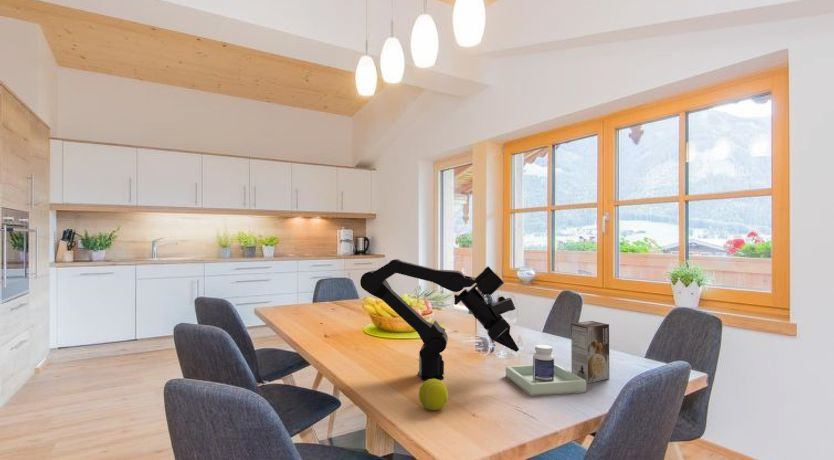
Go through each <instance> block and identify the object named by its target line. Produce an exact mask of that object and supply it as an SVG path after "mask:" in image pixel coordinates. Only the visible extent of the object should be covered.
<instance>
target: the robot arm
mask: <svg viewBox="0 0 834 460" xmlns="http://www.w3.org/2000/svg"><path fill="white" fill-rule="evenodd" d="M395 274H399V275H403V276H406V277H411V278H415V279H419V280H422V281H427V282H429V283H430V282H431V283H433V284H436V285H438V286H440V287H441V288H444V289H445V290H448V291H450V292H452V293H458V294H454V296H453V297H454V303H453V305H455V306H457V305H458V304H459V303H460V302H461V303H462V304H463V305H464V306H465V307H466V309H467V310H468V311H469V312H470V313H471V314H472V316H473V317H474V318H475V320H477V321H478V322H479V323H480V325H482V327H483V328H484V330H486V334H487V336H488V337H489V338H490V339H491V340H492V341H493V342H496V343H498V344H499V345H501V346H504V347H506V348H507V349H510V350H512V351H513V352H518V351H519V349H520V348H519V347H518V345H517V343H516V342H515V340H514V338H513V337H512V335H511V332H510V331H511V325H510V323H509V322H507V320H506V319H505V318H504V317H503V316H502V314H503V315H504V314H505V313H509V312H510V311H511V312H513V311H514V310H516V306H515V304H514V301H513V299H512V298H511V297H506V298H505V297H504V296H502V295H501V296H499V297H497V301H496V302H495V303H493V304H491V302H490V301H488V300H486V299H485V297H484V296H487V295H489V296H491V295H493V294H494V293H495V292H497V290H499V288H501V287H502V286H503V285H504V284H505V282H504V281H503V280H502V278H501V277H500V276H499V275H498V274H497V272H495V271H494V270H493V269H492V268H491V267H490V266H489V265H487V266H486V267H485V268H484V269H483V270H482V271H481V273H479V274H478V275H477V276H476V277H474V276H468V275H465V274H464V273H463V272H462V271H460V270H452V269H436V268H432V267H427V266H424V265H420V264H417V263H416V264H415V263H411V262H407V261H404V260H401V259H399V258H394V259H391V260H390V261H389V262H387V264H385V265H383V266H381V267H379V268H378V269H376V270H374V269H373V270H370V271H366V272H364V273H363V274H362V275H361V276H360V280H359V281H360V283H359V285H360V288H362V289H363V290H364V291H365V292H366V293H368V294H370V295H371V296H373V297H375V298H377V299H380V300H381V301H383V302H384V303H385V304H386V305H387V306H388V307H389V308H390V309H391V310H392V311H394V312H395V314H397V315H398V316H399V317H400V318H401V319H402V320H404V321H405V323H407V325H409V326H410V327H411V328H412V329H413V330H414V331H416V333H417V335H418V336H419V338H420V340H421V341H422V343H423V344H422V345H421V348H420V350H419V352H418V356H419V357H418V358H419V359H418V361H419V362H418V365H419V368H418V371H417V375H418V376H419V378H420V379H421V380H422V381H426V380H428V379H438V380H444V375H445V373H444V372H445V361H444V360H443V355H442V354H441V353H443V352H444V351H445V349H446V348H447V345H448V339H449V337H448V334H447V333H446V328H444V327H442V326H441V325H440V324H439V323H438V322H437V321H436V320H434V321H433V323H432V322H430V321H427V320H426V319H425V318H424V317H423V316H422V315H420V314H419V313H418V312H417V311H416V310H415V309H414V308H413V307H412V306H410V304H408V303H407V302H406V301H405V300H404V299H403V298H402V297H401V296H399V294H397V292H395V291H394V290H393V289H392V287H391V285H390V284H389V282H388V280H387V279H389V278H391V277H392V276H393V275H395ZM466 288H470V289H466ZM477 289H478V290H477ZM460 291H461V292H460ZM480 292H481V293H480ZM482 294H483V295H484V296H483V295H482Z"/></svg>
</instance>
